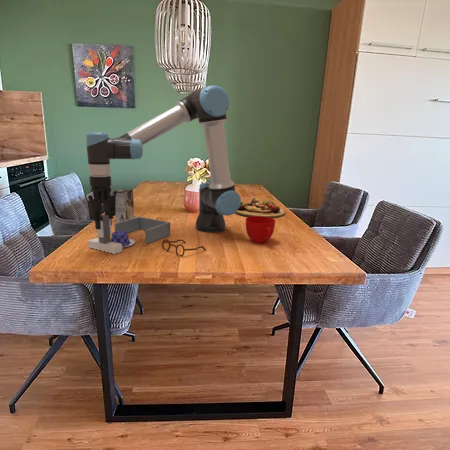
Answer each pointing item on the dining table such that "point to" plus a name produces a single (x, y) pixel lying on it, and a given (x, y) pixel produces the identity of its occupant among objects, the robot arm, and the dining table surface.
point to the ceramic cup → (260, 228)
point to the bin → (145, 227)
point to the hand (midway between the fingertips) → (104, 235)
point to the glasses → (178, 246)
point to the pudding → (122, 238)
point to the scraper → (105, 239)
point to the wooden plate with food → (260, 209)
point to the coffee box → (124, 205)
